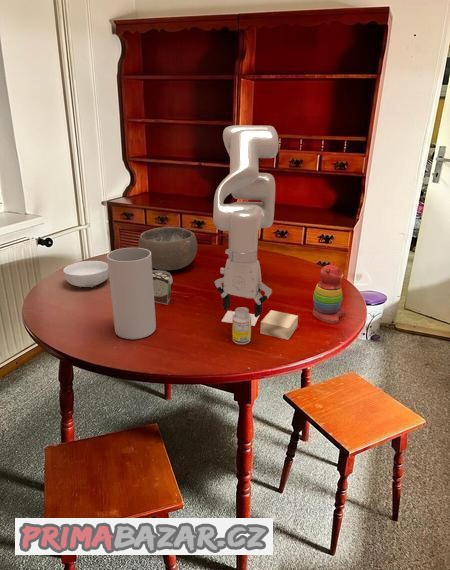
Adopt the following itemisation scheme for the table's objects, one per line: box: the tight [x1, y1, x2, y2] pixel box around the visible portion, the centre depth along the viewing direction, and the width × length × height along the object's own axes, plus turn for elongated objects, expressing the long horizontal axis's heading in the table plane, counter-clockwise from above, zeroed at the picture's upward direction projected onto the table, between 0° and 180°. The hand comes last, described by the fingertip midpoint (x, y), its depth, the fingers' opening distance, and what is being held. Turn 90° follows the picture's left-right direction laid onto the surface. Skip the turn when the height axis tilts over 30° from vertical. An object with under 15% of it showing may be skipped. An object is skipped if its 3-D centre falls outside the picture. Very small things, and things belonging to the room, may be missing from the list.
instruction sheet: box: [221, 310, 260, 327], centre depth 142 cm, size 11×8×1 cm
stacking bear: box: [311, 262, 346, 325], centre depth 141 cm, size 11×10×18 cm
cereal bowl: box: [62, 260, 109, 288], centre depth 167 cm, size 17×17×7 cm
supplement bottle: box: [231, 306, 252, 345], centre depth 127 cm, size 6×6×10 cm
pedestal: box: [259, 309, 299, 341], centre depth 134 cm, size 9×9×4 cm
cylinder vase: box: [106, 247, 157, 340], centre depth 129 cm, size 12×12×25 cm
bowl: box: [138, 226, 198, 272], centre depth 183 cm, size 24×24×15 cm
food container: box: [152, 269, 173, 305], centre depth 154 cm, size 12×6×10 cm, turn 65°
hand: (242, 312), depth 125 cm, fingers open, 9 cm apart
